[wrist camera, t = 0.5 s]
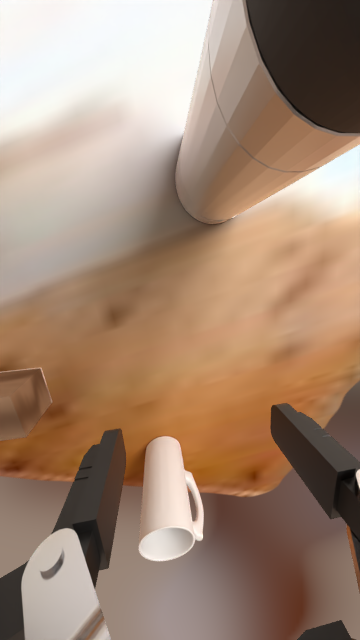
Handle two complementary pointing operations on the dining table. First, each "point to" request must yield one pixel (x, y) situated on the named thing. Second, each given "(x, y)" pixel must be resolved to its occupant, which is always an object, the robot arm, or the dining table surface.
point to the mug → (167, 503)
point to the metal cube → (22, 401)
